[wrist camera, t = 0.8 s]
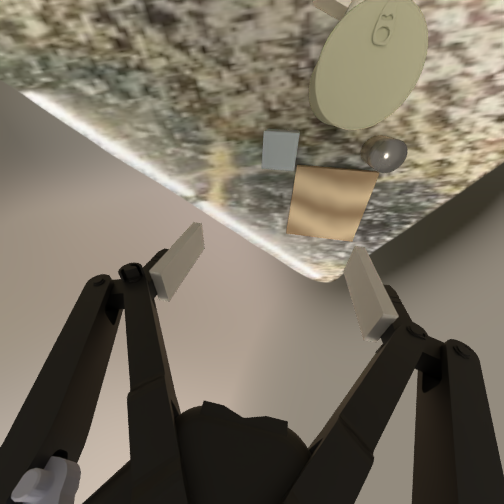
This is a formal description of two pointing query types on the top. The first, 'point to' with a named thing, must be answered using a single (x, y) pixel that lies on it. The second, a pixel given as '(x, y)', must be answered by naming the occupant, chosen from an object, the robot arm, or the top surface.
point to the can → (369, 64)
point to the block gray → (280, 149)
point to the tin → (384, 153)
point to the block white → (333, 7)
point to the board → (329, 201)
